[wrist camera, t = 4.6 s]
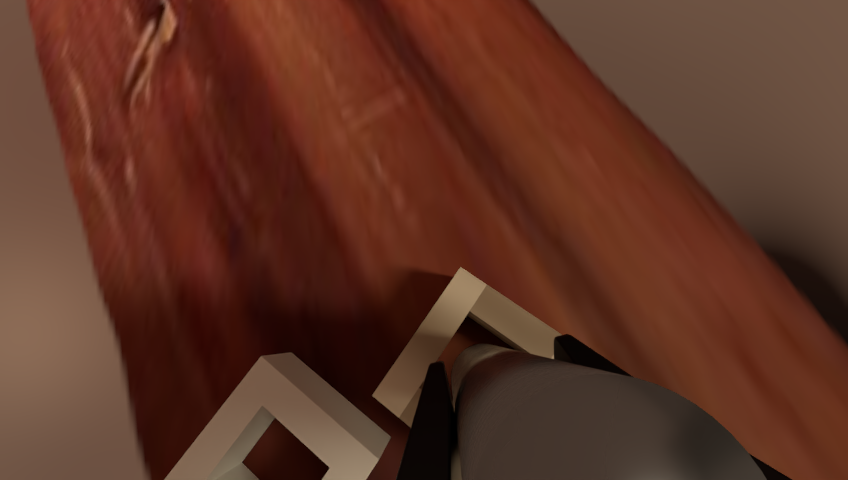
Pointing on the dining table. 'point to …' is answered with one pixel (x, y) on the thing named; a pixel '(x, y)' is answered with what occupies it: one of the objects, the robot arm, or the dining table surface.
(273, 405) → the socket block
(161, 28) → the dining table surface
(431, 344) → the beige square frame block
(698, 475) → the grey metal rod
